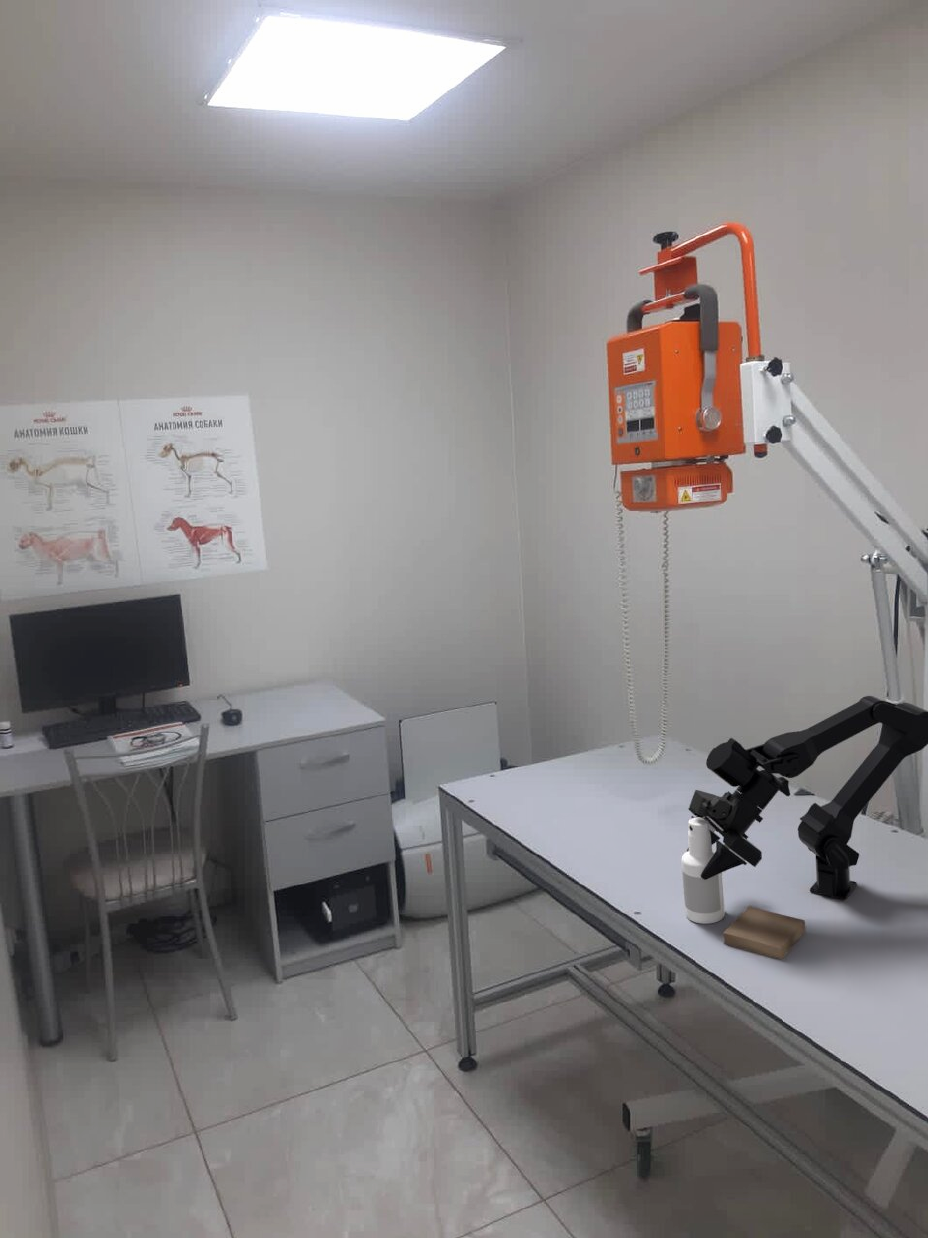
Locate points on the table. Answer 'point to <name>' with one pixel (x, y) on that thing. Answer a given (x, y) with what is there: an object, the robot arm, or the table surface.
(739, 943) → the brown flat square block
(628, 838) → the table surface
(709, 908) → the spray bottle
